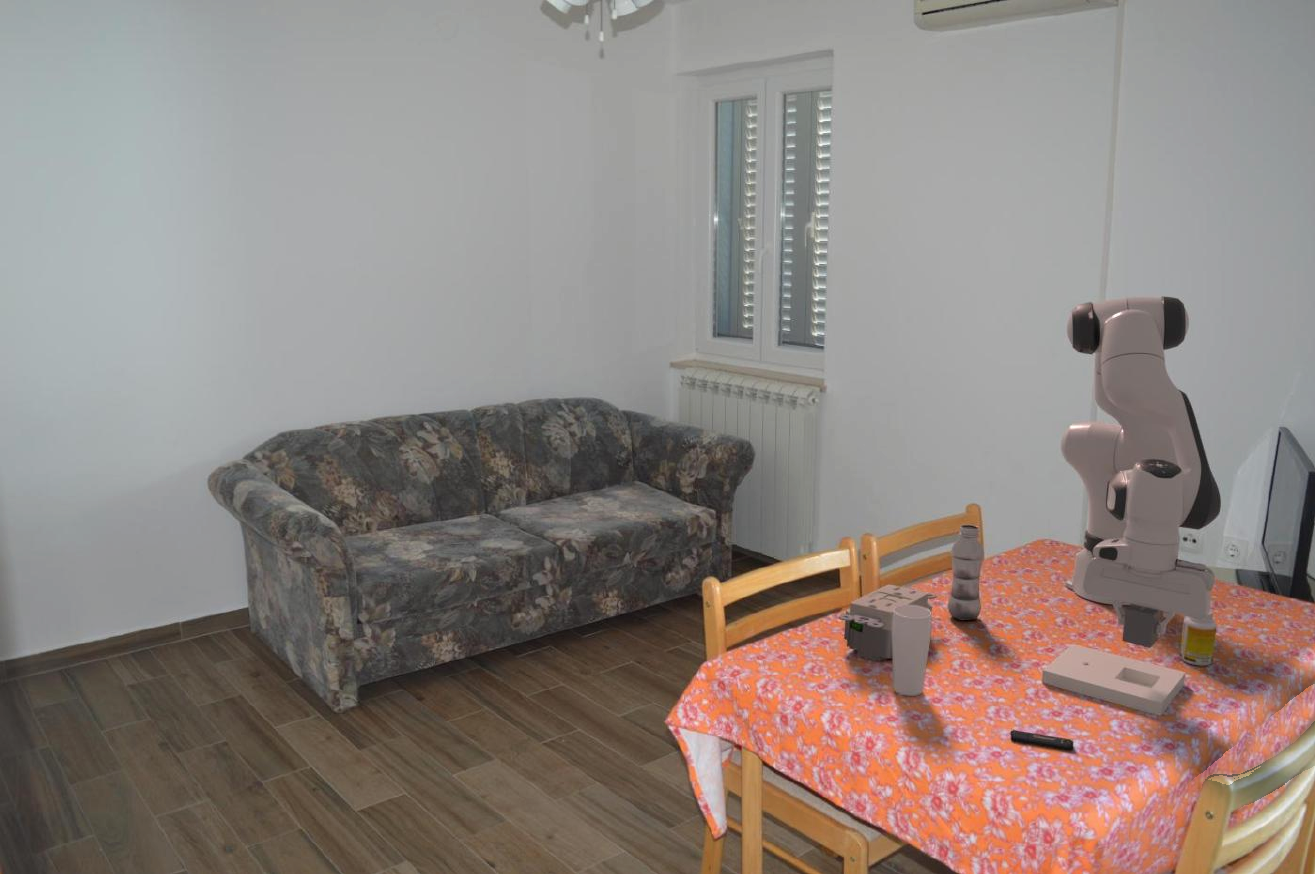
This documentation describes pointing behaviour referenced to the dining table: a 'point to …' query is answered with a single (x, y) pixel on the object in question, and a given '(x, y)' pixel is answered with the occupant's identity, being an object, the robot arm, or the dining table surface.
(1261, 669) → the dining table surface
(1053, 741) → the usb stick
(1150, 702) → the outlet plate
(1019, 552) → the dining table surface
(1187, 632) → the supplement bottle
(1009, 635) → the dining table surface
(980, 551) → the plastic bottle
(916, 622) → the drinking glass
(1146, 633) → the block
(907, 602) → the electrical outlet
